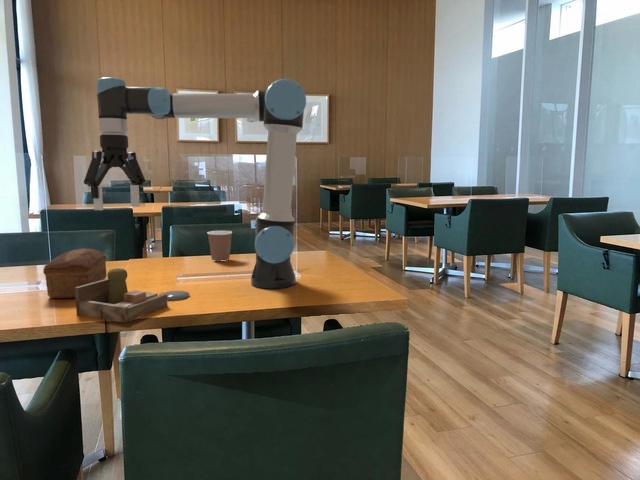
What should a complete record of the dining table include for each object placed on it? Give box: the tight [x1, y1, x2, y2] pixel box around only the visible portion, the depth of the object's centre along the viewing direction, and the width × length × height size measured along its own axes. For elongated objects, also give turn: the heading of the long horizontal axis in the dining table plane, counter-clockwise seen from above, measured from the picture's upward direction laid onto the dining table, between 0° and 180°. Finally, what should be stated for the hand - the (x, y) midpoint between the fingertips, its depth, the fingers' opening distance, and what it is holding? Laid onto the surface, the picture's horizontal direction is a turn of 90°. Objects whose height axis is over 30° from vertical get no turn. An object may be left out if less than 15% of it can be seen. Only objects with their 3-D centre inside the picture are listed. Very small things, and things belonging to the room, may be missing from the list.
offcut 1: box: [115, 302, 134, 306], centre depth 129 cm, size 4×4×4 cm
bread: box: [43, 247, 107, 299], centre depth 156 cm, size 14×28×12 cm, turn 12°
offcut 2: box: [124, 289, 147, 304], centre depth 132 cm, size 4×4×6 cm
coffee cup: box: [206, 230, 233, 261], centre depth 203 cm, size 10×10×12 cm
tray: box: [75, 278, 168, 324], centre depth 134 cm, size 17×16×8 cm
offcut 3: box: [145, 291, 159, 300], centre depth 137 cm, size 4×4×4 cm
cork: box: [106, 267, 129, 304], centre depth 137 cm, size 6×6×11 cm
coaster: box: [158, 290, 190, 302], centre depth 148 cm, size 9×9×1 cm
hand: (117, 208), depth 143 cm, fingers open, 13 cm apart
